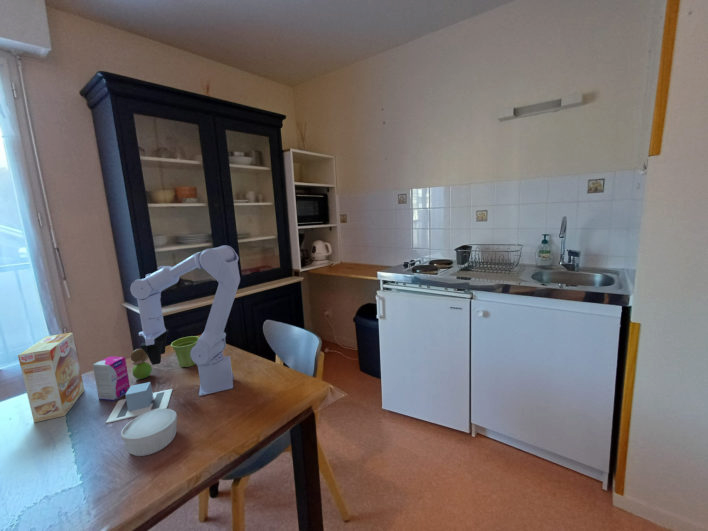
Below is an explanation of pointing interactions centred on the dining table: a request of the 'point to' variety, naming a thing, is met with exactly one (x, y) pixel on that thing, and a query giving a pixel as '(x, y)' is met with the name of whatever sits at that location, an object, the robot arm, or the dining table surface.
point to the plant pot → (184, 350)
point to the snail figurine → (140, 364)
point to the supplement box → (111, 378)
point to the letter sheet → (121, 409)
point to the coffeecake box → (51, 376)
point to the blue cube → (139, 396)
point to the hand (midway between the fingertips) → (158, 358)
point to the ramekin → (150, 432)
